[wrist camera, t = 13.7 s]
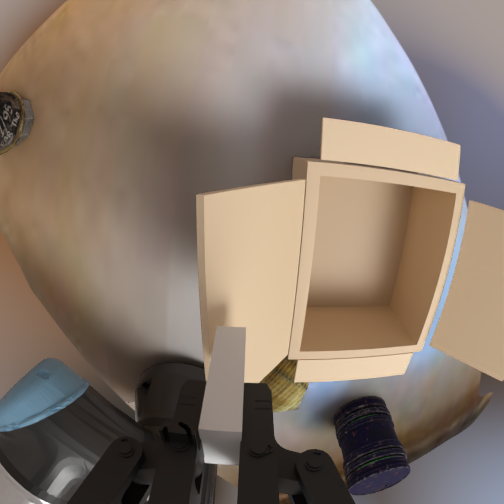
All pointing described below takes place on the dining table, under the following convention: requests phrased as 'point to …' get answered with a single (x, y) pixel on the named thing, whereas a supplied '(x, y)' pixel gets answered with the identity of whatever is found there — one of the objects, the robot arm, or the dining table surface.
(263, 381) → the seashell
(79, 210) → the dining table surface
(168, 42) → the dining table surface
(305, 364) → the carton
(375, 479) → the dark blue barrel
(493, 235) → the flap
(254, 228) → the flap
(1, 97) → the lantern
